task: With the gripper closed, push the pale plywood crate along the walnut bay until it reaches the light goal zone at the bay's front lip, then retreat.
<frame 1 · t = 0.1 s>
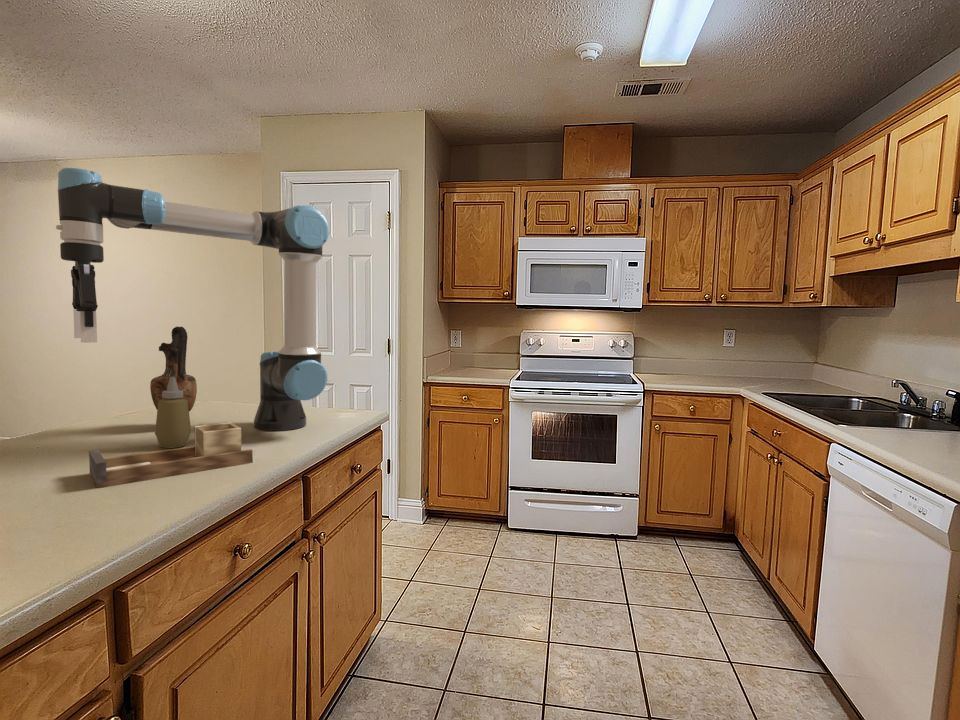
hand: (85, 340, 116), 28 cm above the counter, fingers open, 13 cm apart
bay: (175, 467, 118), on the counter
crate: (218, 441, 123), point 5 cm above the counter, slide at 0.0 cm
vase: (175, 428, 154), on the counter
squeeze bottle: (173, 446, 135), on the counter
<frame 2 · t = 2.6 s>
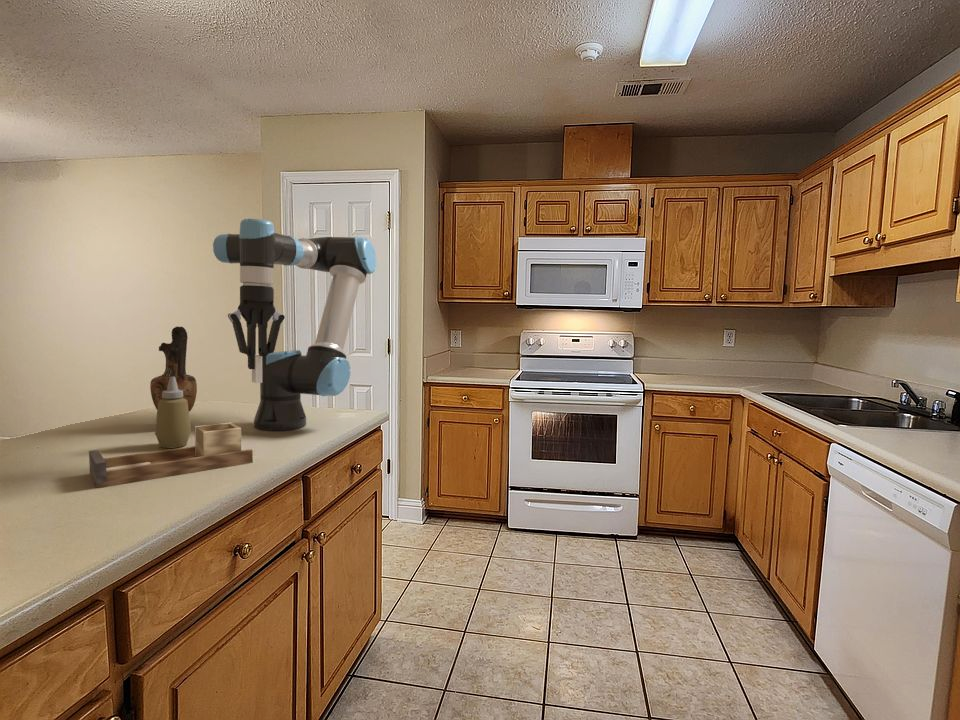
hand: (257, 382, 128), 18 cm above the counter, fingers closed
nothing on the counter moved.
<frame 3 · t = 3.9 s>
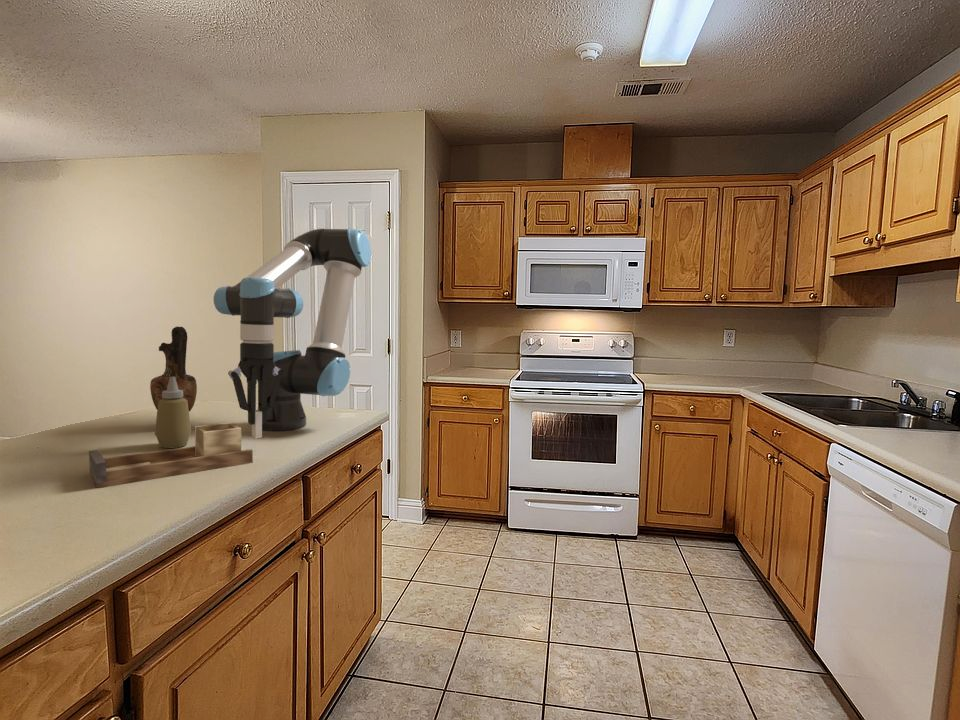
hand: (256, 436, 129), 5 cm above the counter, fingers closed
nothing on the counter moved.
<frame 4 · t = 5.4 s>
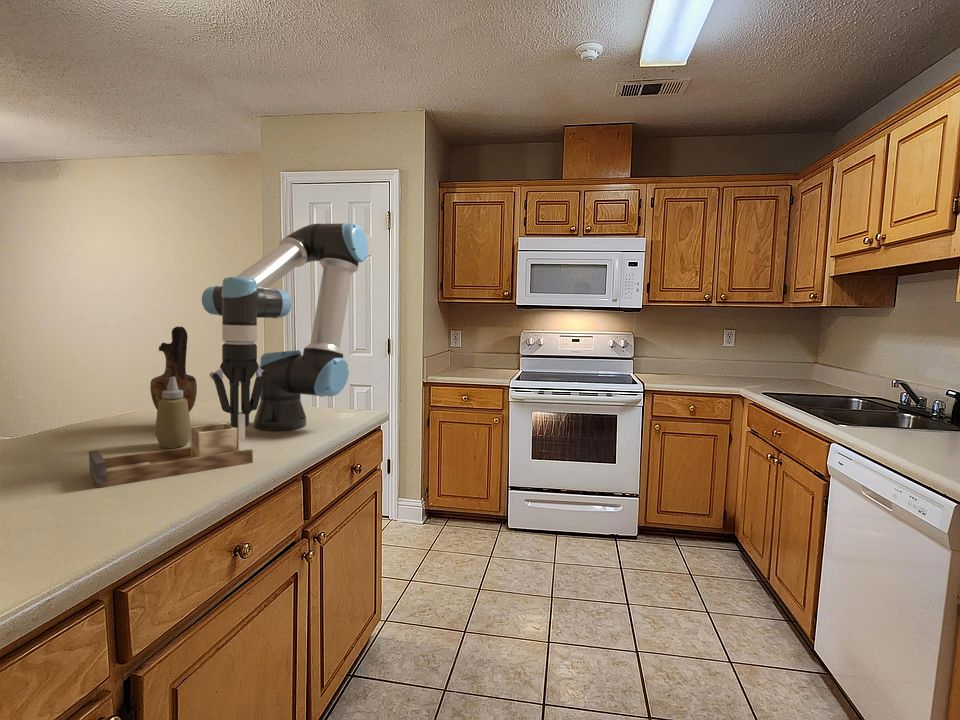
hand: (239, 439, 127), 5 cm above the counter, fingers closed
crate: (213, 442, 123), point 5 cm above the counter, slide at 0.9 cm, touching gripper
everything else where it was.
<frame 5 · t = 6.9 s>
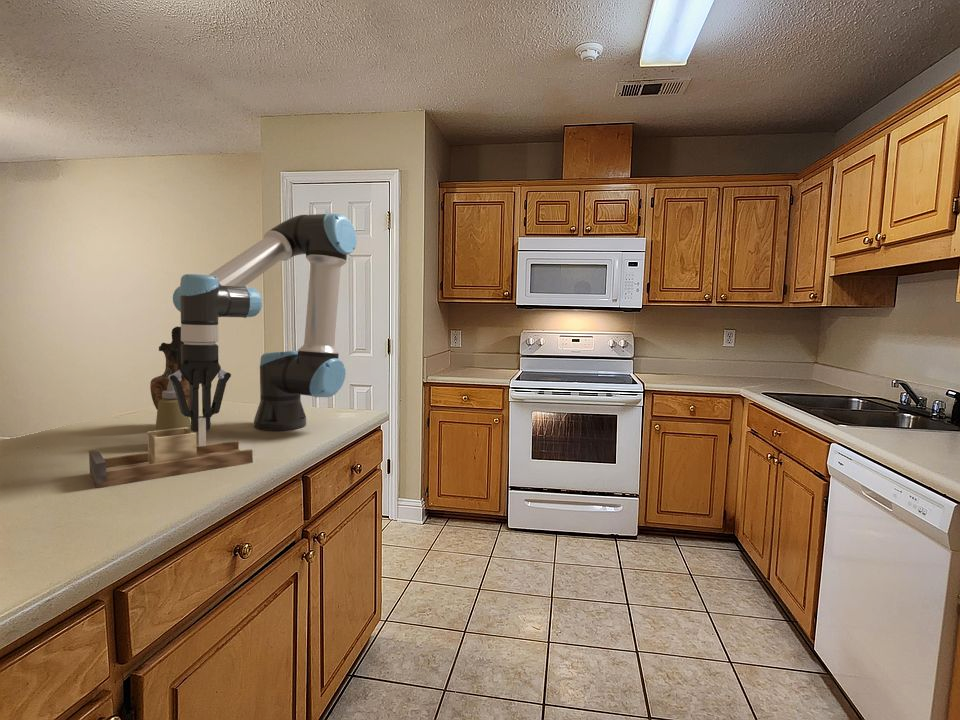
hand: (200, 444, 121), 5 cm above the counter, fingers closed
crate: (172, 447, 117), point 5 cm above the counter, slide at 9.6 cm, touching gripper
everything else where it was.
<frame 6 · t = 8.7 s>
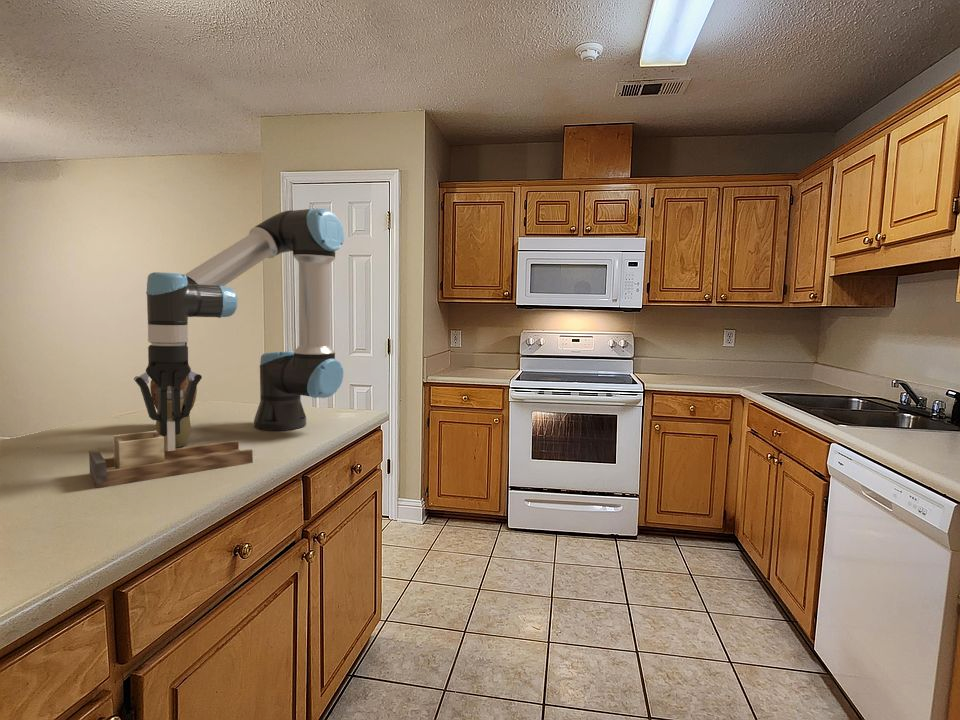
hand: (170, 449, 117), 4 cm above the counter, fingers closed
crate: (139, 452, 113), point 5 cm above the counter, slide at 15.9 cm, touching gripper
everything else where it was.
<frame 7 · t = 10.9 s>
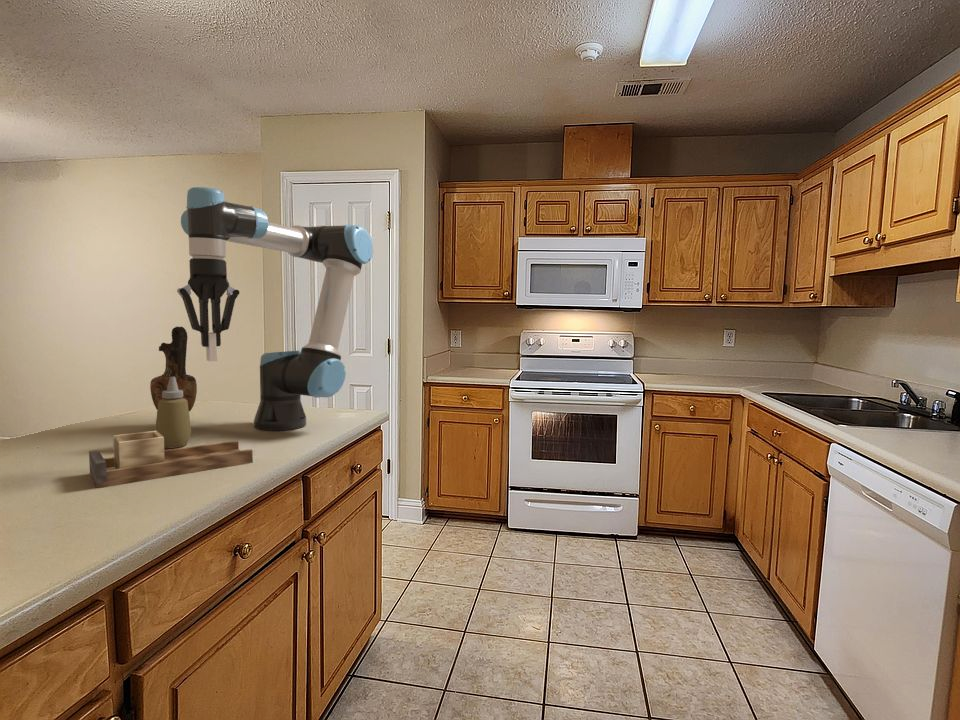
hand: (211, 360, 122), 24 cm above the counter, fingers closed
crate: (139, 452, 113), point 5 cm above the counter, slide at 15.9 cm
everything else where it was.
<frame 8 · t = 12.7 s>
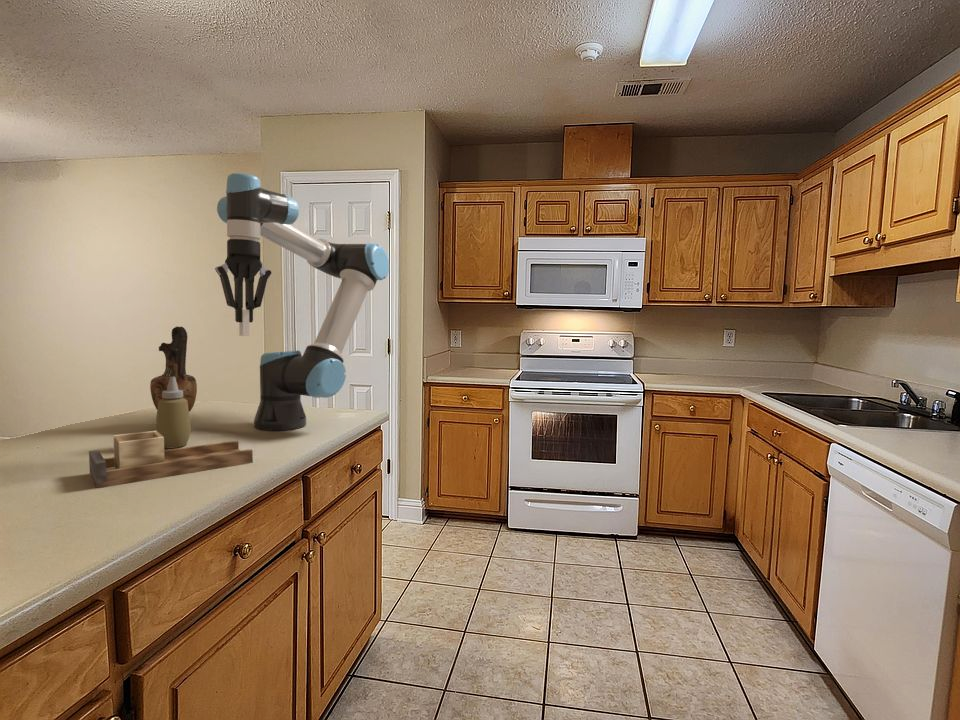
hand: (244, 335, 131), 29 cm above the counter, fingers closed
nothing on the counter moved.
at the end: crate slide at 15.9 cm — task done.
